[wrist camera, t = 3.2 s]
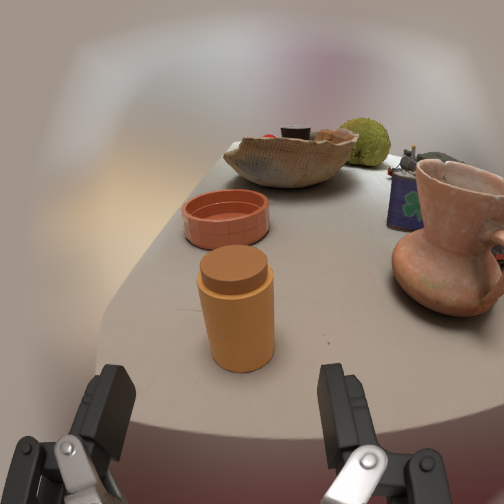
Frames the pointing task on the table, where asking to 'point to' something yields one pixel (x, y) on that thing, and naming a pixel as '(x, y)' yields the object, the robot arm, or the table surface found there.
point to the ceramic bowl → (292, 158)
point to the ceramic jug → (454, 240)
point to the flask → (404, 203)
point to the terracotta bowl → (226, 218)
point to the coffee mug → (296, 132)
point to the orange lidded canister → (238, 306)
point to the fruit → (368, 142)
